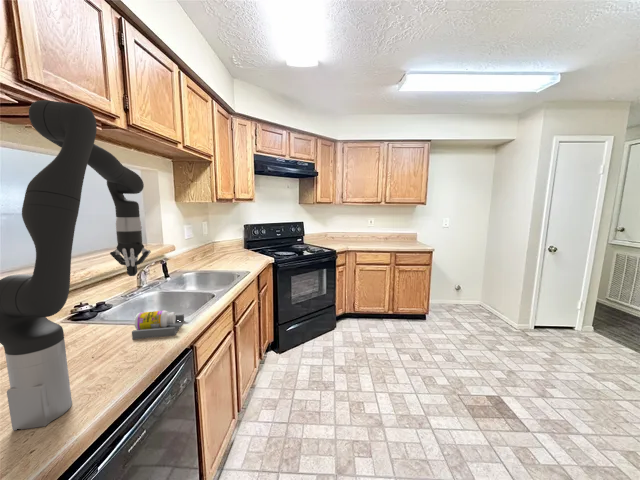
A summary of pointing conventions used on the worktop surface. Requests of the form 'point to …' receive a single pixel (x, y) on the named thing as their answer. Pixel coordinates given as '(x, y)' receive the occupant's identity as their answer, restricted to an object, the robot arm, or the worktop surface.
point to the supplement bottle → (154, 320)
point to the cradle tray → (159, 330)
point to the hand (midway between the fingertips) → (132, 275)
